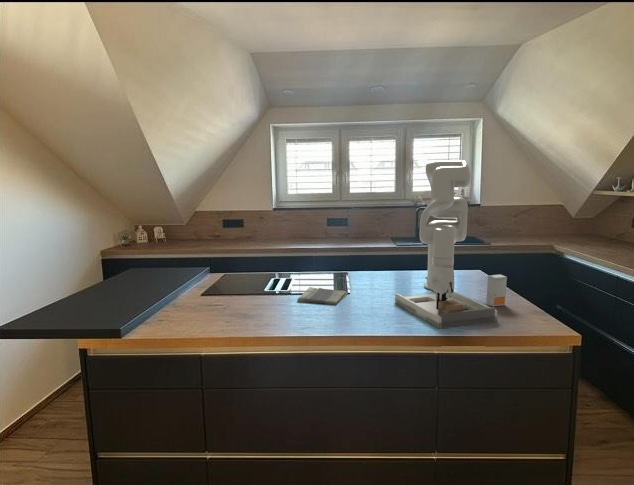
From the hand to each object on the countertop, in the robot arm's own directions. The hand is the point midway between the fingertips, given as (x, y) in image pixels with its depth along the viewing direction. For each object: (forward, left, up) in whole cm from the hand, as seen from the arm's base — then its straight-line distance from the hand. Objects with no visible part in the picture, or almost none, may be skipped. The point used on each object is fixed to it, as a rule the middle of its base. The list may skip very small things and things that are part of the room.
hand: (441, 309), depth 154 cm
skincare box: (-5, +29, -3) cm, 30 cm away
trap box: (-5, +4, -3) cm, 7 cm away
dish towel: (-38, -34, -4) cm, 51 cm away
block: (+6, 0, -1) cm, 6 cm away
